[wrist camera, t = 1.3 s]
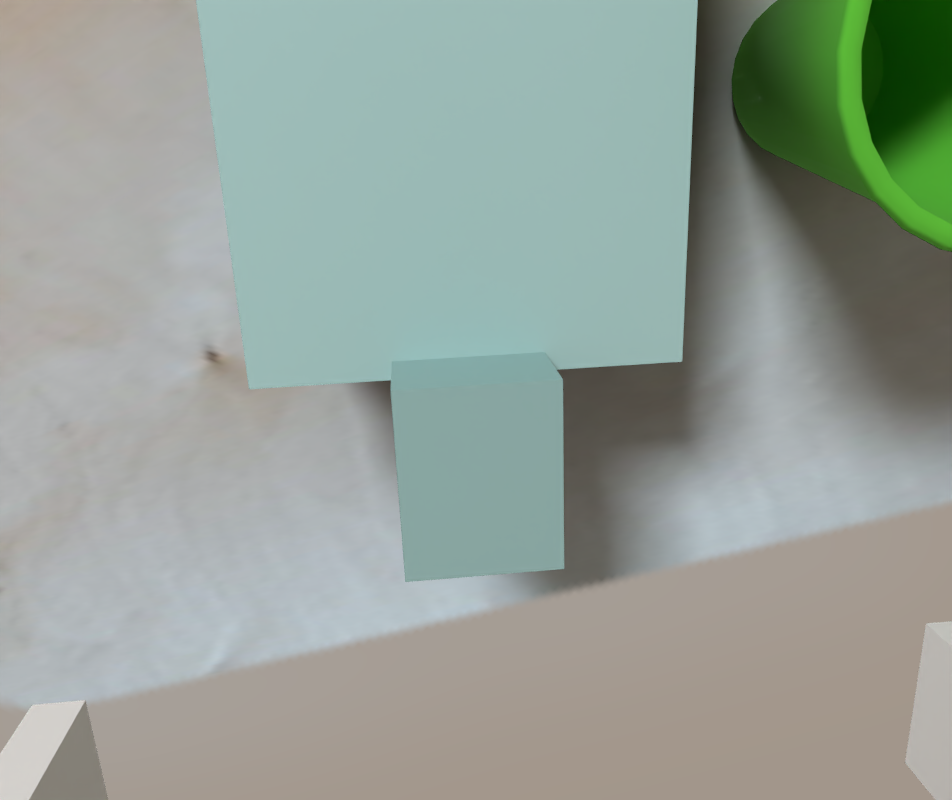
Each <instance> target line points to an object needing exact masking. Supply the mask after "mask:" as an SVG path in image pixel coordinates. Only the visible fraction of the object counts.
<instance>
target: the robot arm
mask: <svg viewBox="0 0 952 800" xmlns="http://www.w3.org/2000/svg"><path fill="white" fill-rule="evenodd" d="M905 763H906V764H907V766H908V767H909V768H910V769H911V770H912V772H913V773H914V774H915V776H916V777H917V778H918V779H919V780H920V782H921V783H922V784H923V785H924V787H925V788H926V789H927V790H928V792H929V793H930V794H931V795H932V796H933V798H934V799H935V800H952V621H949V622H939V623H927V624H926V628H925V634H924V641H923V648H922V654H921V661H920V667H919V674H918V680H917V687H916V693H915V700H914V707H913V713H912V720H911V727H910V733H909V739H908V746H907V752H906V759H905ZM0 800H108V797H107V793H106V788H105V784H104V779H103V775H102V771H101V766H100V762H99V757H98V753H97V749H96V744H95V740H94V736H93V731H92V727H91V722H90V719H89V714H88V709H87V705H86V701H85V700H82V701H71V702H60V703H49V704H39V705H32V706H31V708H30V709H29V711H28V712H27V714H26V716H25V717H24V718H23V720H22V721H21V723H20V724H19V726H18V727H17V729H16V731H15V732H14V734H13V735H12V737H11V738H10V740H9V741H8V743H7V744H6V746H5V748H4V749H3V750H2V752H1V754H0Z"/></svg>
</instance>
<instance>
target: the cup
mask: <svg viewBox="0 0 952 800" xmlns="http://www.w3.org/2000/svg"><path fill="white" fill-rule="evenodd" d="M732 94H733V102H734V106H735V109H736V113H737V116H738V119H739V121H740V122H741V124H742V126H743V128H744V129H745V131H746V133H747V134H748V135H749V136H750V137H751V138H752V139H753V140H754V141H755V142H756V143H757V144H758V145H759V146H760V147H761V148H763V149H765V150H767V151H769V152H770V153H772V154H774V155H776V156H778V157H780V158H782V159H784V160H787V161H789V162H791V163H793V164H795V165H797V166H799V167H802V168H804V169H806V170H808V171H810V172H812V173H814V174H817V175H819V176H821V177H823V178H825V179H827V180H829V181H832V182H834V183H836V184H838V185H840V186H842V187H844V188H847V189H849V190H851V191H853V192H855V193H857V194H859V195H862V196H864V197H866V198H868V199H870V200H872V201H874V202H876V203H877V204H878V205H879V206H880V207H881V208H882V209H883V210H884V211H885V212H886V213H887V214H888V215H889V216H890V217H891V218H892V219H893V220H894V221H895V222H896V223H897V224H898V225H899V226H900V227H901V228H902V229H904V230H906V231H907V232H909V233H911V234H913V235H915V236H917V237H918V238H920V239H922V240H924V241H926V242H928V243H930V244H931V245H933V246H935V247H937V248H939V249H941V250H946V251H951V252H952V0H777V1H776V2H775V3H774V4H772V5H771V6H770V7H769V8H768V9H767V10H766V11H765V12H764V13H763V14H762V15H761V16H760V17H759V18H758V19H757V20H756V21H755V22H754V23H753V25H752V26H751V28H750V29H749V31H748V32H747V34H746V35H745V37H744V38H743V40H742V43H741V46H740V48H739V51H738V53H737V56H736V58H735V63H734V69H733V75H732Z"/></svg>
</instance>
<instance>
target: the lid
mask: <svg viewBox="0 0 952 800" xmlns="http://www.w3.org/2000/svg"><path fill="white" fill-rule="evenodd" d="M196 4H197V11H198V19H199V26H200V33H201V41H202V48H203V55H204V63H205V70H206V77H207V85H208V92H209V99H210V107H211V114H212V121H213V129H214V136H215V143H216V151H217V158H218V165H219V172H220V180H221V187H222V194H223V202H224V209H225V216H226V224H227V231H228V238H229V246H230V253H231V260H232V268H233V275H234V282H235V290H236V297H237V304H238V312H239V319H240V326H241V334H242V341H243V348H244V356H245V363H246V370H247V378H248V385H249V389H261V388H277V387H292V386H308V385H324V384H339V383H355V382H371V381H386V380H391V403H392V416H393V429H394V442H395V455H396V468H397V481H398V493H399V506H400V519H401V532H402V545H403V558H404V570H405V582H411V581H423V580H435V579H448V578H460V577H472V576H484V575H497V574H509V573H521V572H534V571H546V570H558V569H564V457H563V379H562V377H561V376H560V374H559V373H558V371H557V370H559V369H575V368H591V367H606V366H622V365H638V364H653V363H669V362H682V354H683V331H684V308H685V284H686V261H687V238H688V214H689V191H690V168H691V145H692V121H693V98H694V75H695V51H696V28H697V5H698V0H196Z"/></svg>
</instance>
